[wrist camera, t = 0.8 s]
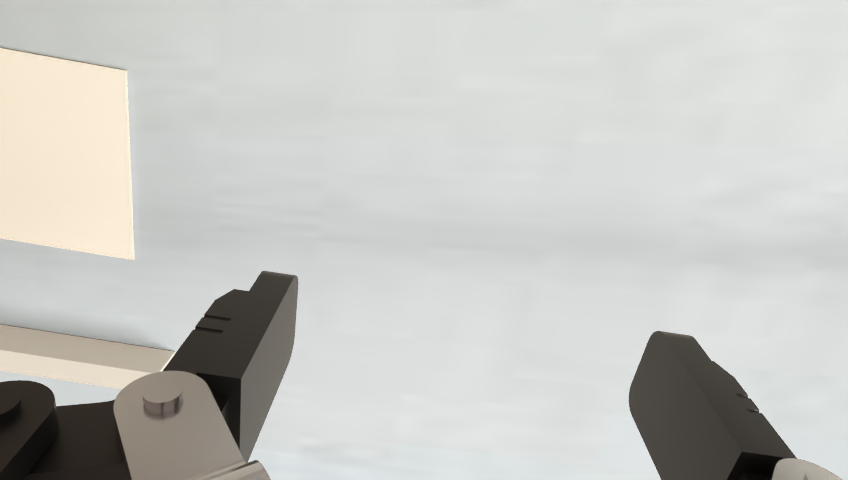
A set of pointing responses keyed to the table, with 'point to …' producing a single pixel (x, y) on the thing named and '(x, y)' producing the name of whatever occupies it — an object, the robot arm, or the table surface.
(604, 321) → the table surface
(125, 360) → the wall
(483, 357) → the table surface
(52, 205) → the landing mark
